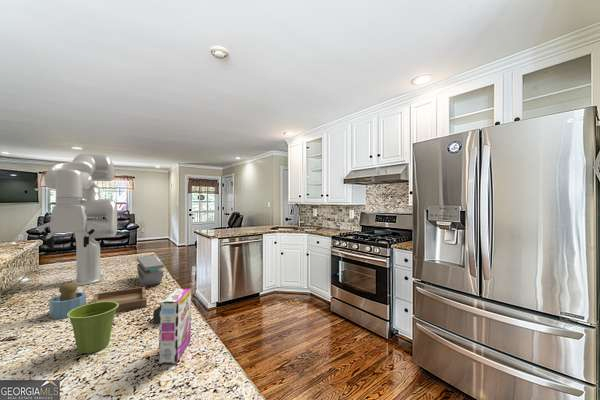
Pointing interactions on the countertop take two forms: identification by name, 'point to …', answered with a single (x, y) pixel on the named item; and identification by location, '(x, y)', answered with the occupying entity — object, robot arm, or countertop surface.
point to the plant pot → (92, 325)
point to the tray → (124, 298)
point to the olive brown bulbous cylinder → (68, 291)
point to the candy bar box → (174, 325)
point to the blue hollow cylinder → (65, 305)
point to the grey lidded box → (149, 270)
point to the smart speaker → (156, 315)
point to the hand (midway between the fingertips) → (68, 248)
